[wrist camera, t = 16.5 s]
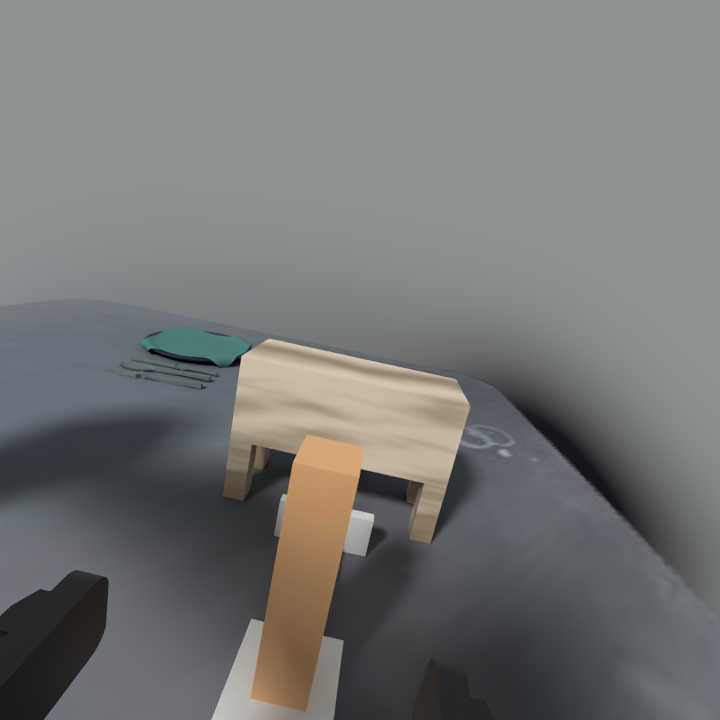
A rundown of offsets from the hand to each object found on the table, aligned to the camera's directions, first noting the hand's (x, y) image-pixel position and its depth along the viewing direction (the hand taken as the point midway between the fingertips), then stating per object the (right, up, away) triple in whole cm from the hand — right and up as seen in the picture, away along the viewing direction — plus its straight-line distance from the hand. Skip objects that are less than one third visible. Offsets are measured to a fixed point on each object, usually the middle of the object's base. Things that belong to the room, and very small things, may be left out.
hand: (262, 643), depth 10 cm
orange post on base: (-2, -11, +18) cm, 21 cm away
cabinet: (-1, -7, +32) cm, 33 cm away
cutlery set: (-30, +7, +66) cm, 72 cm away
